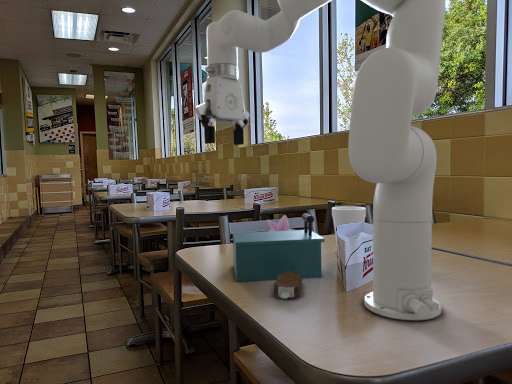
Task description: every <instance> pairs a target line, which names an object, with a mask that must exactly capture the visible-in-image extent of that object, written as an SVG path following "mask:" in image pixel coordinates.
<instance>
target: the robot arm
mask: <svg viewBox="0 0 512 384" xmlns="http://www.w3.org/2000/svg"><path fill="white" fill-rule="evenodd" d="M360 1H362V2H363V3H365V4H366V5H368V6H369V7H371V8H373V9H375V10H377V11H379V12H381V13H384V14H388V15H390V16H392V18H391V20H390V22H389V26H388V28H387V31H386V32H387V33H386V38H385V39H386V41H385V45H386V46H385V47H384V48H381V49H380V48H379V49H378V50H376V51H374V52H372V53H371V54H370V55H368V57H366V58H365V59H364V60H363V62H362V63H361V65H360V67H359V68H358V70H357V73H356V75H355V77H354V81H353V85H352V95H351V106H350V116H349V117H350V119H349V129H348V130H349V131H348V142H347V143H348V144H347V145H348V146H347V150H348V153H347V154H348V160H349V164H350V167H351V168H352V170H353V171H354V173H355V174H356V175H357V176H358V177H359V178H360V179H362V180H364V181H366V182H368V183H373V184H376V185H375V189H374V195H373V202H372V203H373V205H372V291H370V292H368V293H367V294H365V296H364V298H363V304H364V306H365V307H366V308H367V310H369V311H370V312H372V313H374V314H376V315H380V316H382V317H384V318H385V317H386V318H389V319H395V320H401V321H427V320H431V319H435V318H438V317H439V316H440V315H441V313H442V308H443V307H442V303H441V302H440V301H439V300H438V299H436V298H435V297H433V288H432V261H433V260H432V257H433V256H432V255H433V254H432V253H433V252H432V251H433V249H432V248H433V245H432V243H433V241H432V240H433V239H432V238H433V201H434V200H433V197H434V196H433V195H434V184H435V178H436V172H437V171H436V170H437V162H438V161H437V160H438V159H437V157H438V156H437V149H436V146H435V143H434V140H433V139H432V138H431V136H430V135H429V134H428V133H427V132H426V131H424V130H423V129H421V128H420V127H417V126H413V125H412V118H413V117H416V116H420V115H422V114H423V113H425V112H426V111H428V110H429V108H430V107H431V106H432V105H433V103H434V101H435V99H436V96H437V92H438V84H439V71H440V65H441V64H440V63H441V54H442V42H443V39H442V38H443V29H444V20H445V13H446V12H445V11H446V0H360ZM330 2H332V0H277V3H278V4H277V5H278V6H279V9H280V11H279V12H277V13H276V14H274V15H272V16H271V17H268V18H267V19H262V18H260V17H257V16H255V15H252V14H249V13H246V12H244V11H243V10H238V9H233V10H230V11H228V12H226V13H225V14H224V15H223V16H222V17H221V18H220V19H218V20H216V21H213V22H211V23H209V24H208V25H207V27H206V57H207V61H206V62H207V63H206V64H207V66H205V68H204V72H205V73H207V78H206V80H205V85H204V96H203V102H202V103H201V104H199V105H196V106H195V107H194V111H195V114H196V116H197V119H198V120H199V121H198V122H200V123H201V127H202V128H203V131H204V133H203V134H204V135H203V136H204V137H203V138H204V144H205V145H209V144H215V143H216V127H215V125H214V124H215V122H224V123H225V122H226V123H231V124H232V126H233V128H234V129H233V133H232V134H233V135H232V136H233V145H234V146H240V145H241V146H243V145H244V144H245V138H244V137H245V136H244V133H245V132H244V130H245V129H246V127H247V124H248V122H249V119H250V116H251V115H250V113H249V112H248V110H246V108H245V99H244V92H243V87H242V83H241V81H240V80H239V59H238V55H239V53H238V48H241V49H245V50H248V51H251V52H254V53H259V54H262V53H267V52H270V51H272V50H275V49H276V48H277V47H279V46H281V45H283V44H284V43H286V42H287V41H289V40H290V39H291V38H292V36H293V35H294V33H296V30H297V29H298V28H299V25H300V21H301V20H302V19H303V18H304V17H306V16H309V15H310V14H311V13H313V12H314V11H317V10H318V9H320V8H321V7H323V6H325V5H326V4H328V3H330Z"/></svg>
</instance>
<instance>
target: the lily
mask: <svg viewBox="0 0 512 384" xmlns="http://www.w3.org/2000/svg"><path fill="white" fill-rule="evenodd" d="M266 222H267V224H268V226H269V228H270V229H269V230H268V231H288V230H294V229H293V228H290V223H289V219H288V217H287V215H286V214H283V216H281V218H279V221H278V222H277V223H276V222H275V221H273V220H271V219H266Z"/></svg>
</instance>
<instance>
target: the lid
mask: <svg viewBox="0 0 512 384" xmlns="http://www.w3.org/2000/svg"><path fill="white" fill-rule="evenodd" d="M301 219H302V220H303V229H293V230H288V231H269V230H267V231H243V232H232V239H233V238H234V241H235V245H236V246H247V245H269V244H291V243H313V242H321V243H325V242H326V241H325V240H326V239H325V237H323V236H321V235H319V234H318V233H316V232H315V231H313V223H314V221H315V217H314V216H313V215H311V214H309V213H303V214H301Z"/></svg>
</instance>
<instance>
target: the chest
mask: <svg viewBox="0 0 512 384" xmlns="http://www.w3.org/2000/svg"><path fill="white" fill-rule="evenodd" d="M232 257H233V258H232V259H233V270H234V275H235V279H236V282H251V281H269V280H277V277H278V275H279V274H280V273H283V272H289V271H293V272H294V271H295V272H298V273H299V274H300V275H301V276H302V279H305V278H321V277H322V276H323V275H322V242H313V243H291V244H269V245H247V246H236V245H235V241H234V238H233V237H232Z"/></svg>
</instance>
